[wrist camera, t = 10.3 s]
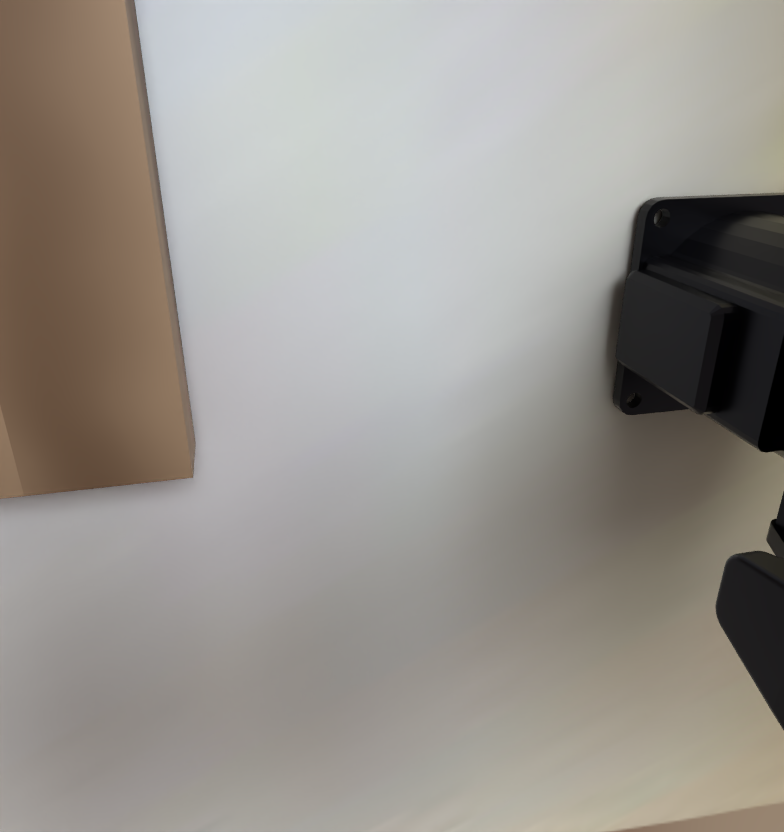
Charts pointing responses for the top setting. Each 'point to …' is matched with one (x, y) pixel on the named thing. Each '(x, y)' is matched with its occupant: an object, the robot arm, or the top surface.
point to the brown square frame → (83, 259)
